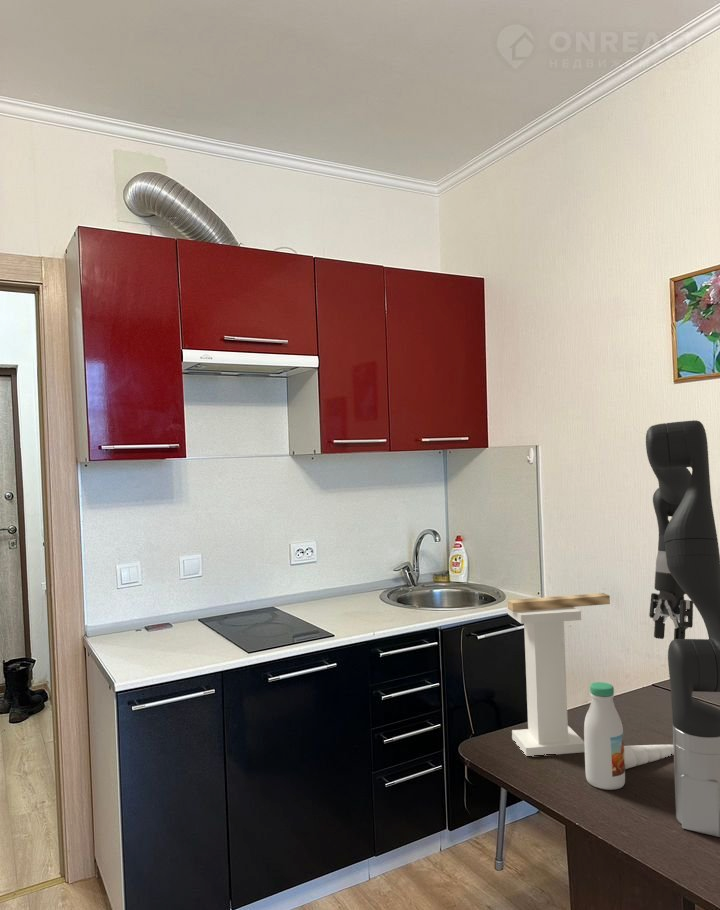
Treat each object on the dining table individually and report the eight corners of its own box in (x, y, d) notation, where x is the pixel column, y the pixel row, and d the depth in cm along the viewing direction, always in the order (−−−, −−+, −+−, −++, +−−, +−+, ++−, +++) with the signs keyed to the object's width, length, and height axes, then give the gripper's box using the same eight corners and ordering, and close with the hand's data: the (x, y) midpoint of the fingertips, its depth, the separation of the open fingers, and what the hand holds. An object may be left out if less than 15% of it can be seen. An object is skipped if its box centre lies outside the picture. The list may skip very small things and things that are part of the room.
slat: (603, 601, 164) (603, 593, 164) (609, 604, 161) (609, 595, 161) (508, 608, 161) (507, 600, 161) (512, 611, 158) (512, 603, 158)
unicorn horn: (707, 755, 152) (706, 733, 152) (618, 775, 145) (617, 752, 145) (690, 746, 157) (690, 725, 157) (603, 766, 149) (602, 744, 149)
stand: (568, 734, 166) (563, 601, 165) (586, 752, 156) (580, 611, 156) (512, 738, 164) (507, 605, 164) (526, 756, 154) (520, 615, 154)
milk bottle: (600, 793, 137) (596, 693, 137) (578, 776, 144) (574, 681, 144) (633, 787, 139) (629, 688, 139) (610, 770, 146) (606, 677, 146)
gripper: (642, 567, 168) (638, 635, 167) (674, 572, 154) (670, 646, 152) (671, 570, 169) (667, 637, 167) (706, 576, 155) (702, 649, 153)
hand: (668, 641), depth 160 cm, fingers open, 8 cm apart
